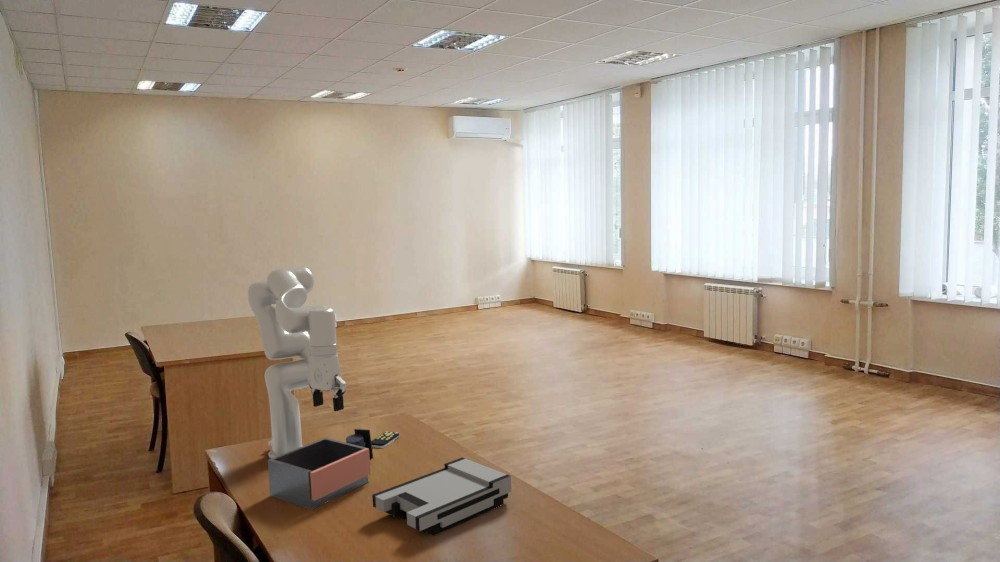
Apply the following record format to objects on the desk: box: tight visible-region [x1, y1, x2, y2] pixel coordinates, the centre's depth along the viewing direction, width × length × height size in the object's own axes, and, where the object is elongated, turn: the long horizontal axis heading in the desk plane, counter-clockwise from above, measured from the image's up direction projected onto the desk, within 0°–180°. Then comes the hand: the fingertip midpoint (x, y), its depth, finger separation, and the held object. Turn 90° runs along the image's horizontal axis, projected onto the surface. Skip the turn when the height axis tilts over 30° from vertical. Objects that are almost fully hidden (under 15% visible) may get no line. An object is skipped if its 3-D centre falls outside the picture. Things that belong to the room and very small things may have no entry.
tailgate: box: [310, 448, 371, 501], centre depth 208 cm, size 1×22×8 cm, turn 145°
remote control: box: [371, 431, 400, 449], centre depth 253 cm, size 6×13×2 cm, turn 160°
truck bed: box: [267, 437, 369, 510], centre depth 213 cm, size 18×22×11 cm
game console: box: [371, 457, 512, 537], centre depth 197 cm, size 21×32×8 cm, turn 134°
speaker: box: [345, 428, 374, 459], centre depth 235 cm, size 8×6×10 cm
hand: (328, 407), depth 210 cm, fingers open, 9 cm apart
